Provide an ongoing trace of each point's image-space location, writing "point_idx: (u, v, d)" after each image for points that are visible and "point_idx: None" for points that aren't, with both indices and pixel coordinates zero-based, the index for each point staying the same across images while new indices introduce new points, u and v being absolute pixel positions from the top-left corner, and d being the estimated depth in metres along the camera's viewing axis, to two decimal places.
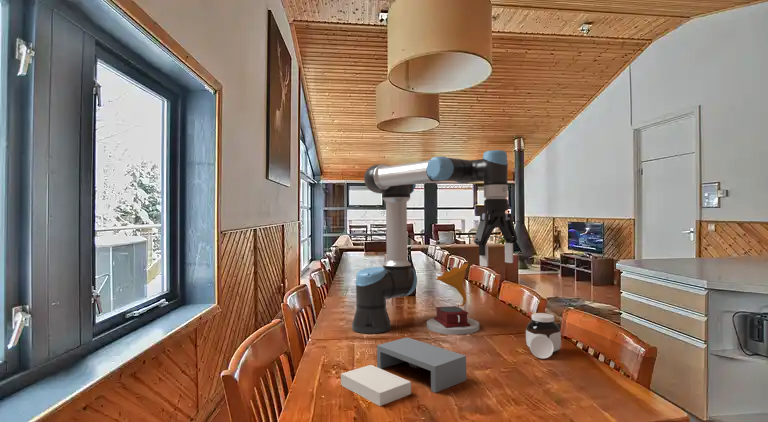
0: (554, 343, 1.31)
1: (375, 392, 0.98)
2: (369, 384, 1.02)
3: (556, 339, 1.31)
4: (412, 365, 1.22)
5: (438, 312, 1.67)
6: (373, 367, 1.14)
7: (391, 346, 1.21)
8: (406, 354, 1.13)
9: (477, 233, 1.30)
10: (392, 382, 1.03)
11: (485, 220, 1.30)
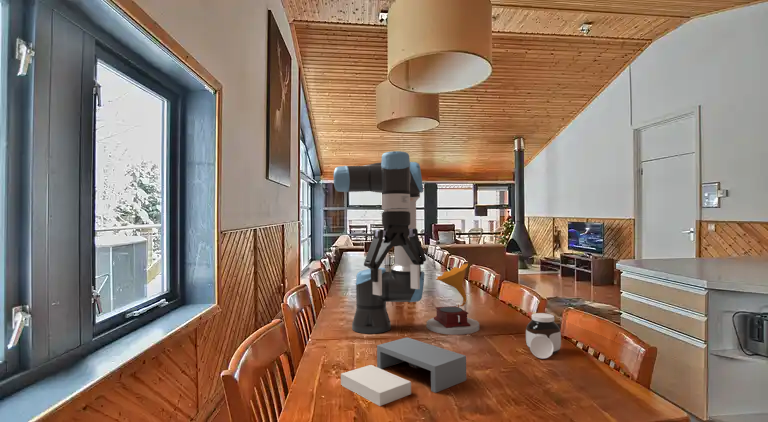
0: (554, 343, 1.31)
1: (375, 392, 0.98)
2: (369, 384, 1.02)
3: (556, 339, 1.31)
4: (412, 365, 1.22)
5: (438, 312, 1.67)
6: (373, 367, 1.14)
7: (391, 346, 1.21)
8: (406, 354, 1.13)
9: (368, 254, 1.05)
10: (392, 382, 1.03)
11: (378, 238, 1.05)
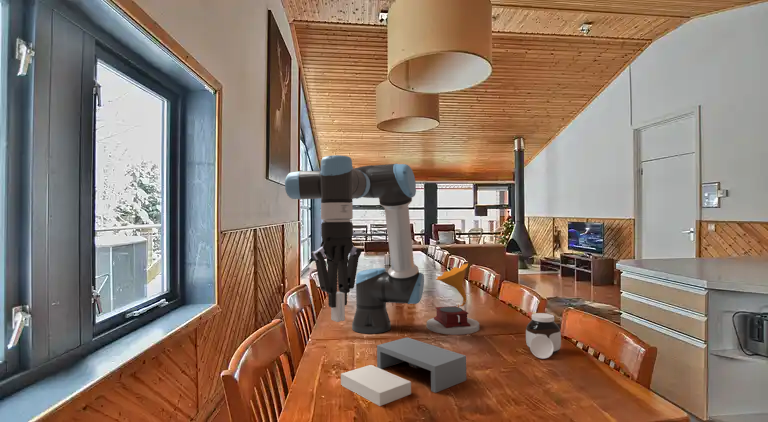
0: (554, 343, 1.31)
1: (375, 392, 0.98)
2: (369, 384, 1.02)
3: (556, 339, 1.31)
4: (412, 365, 1.22)
5: (438, 312, 1.67)
6: (373, 367, 1.14)
7: (391, 346, 1.21)
8: (406, 354, 1.13)
9: (319, 279, 0.97)
10: (392, 382, 1.03)
11: (319, 261, 0.96)
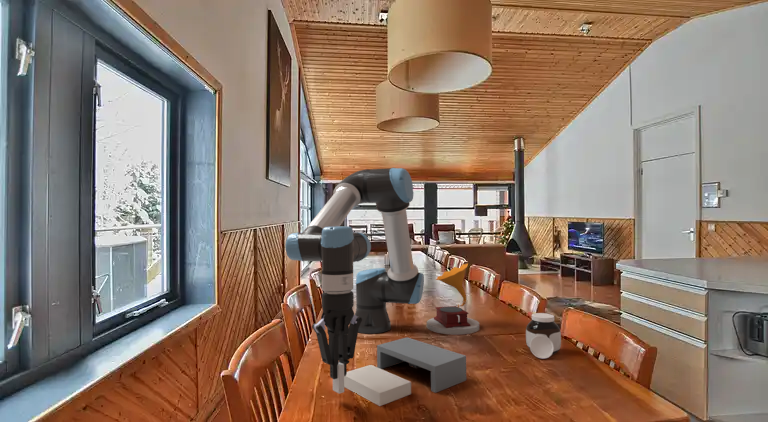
0: (554, 343, 1.31)
1: (375, 392, 0.98)
2: (369, 384, 1.02)
3: (556, 339, 1.31)
4: (412, 365, 1.22)
5: (438, 312, 1.67)
6: (373, 367, 1.14)
7: (391, 346, 1.21)
8: (406, 354, 1.13)
9: (321, 351, 0.97)
10: (392, 382, 1.03)
11: (320, 334, 0.95)
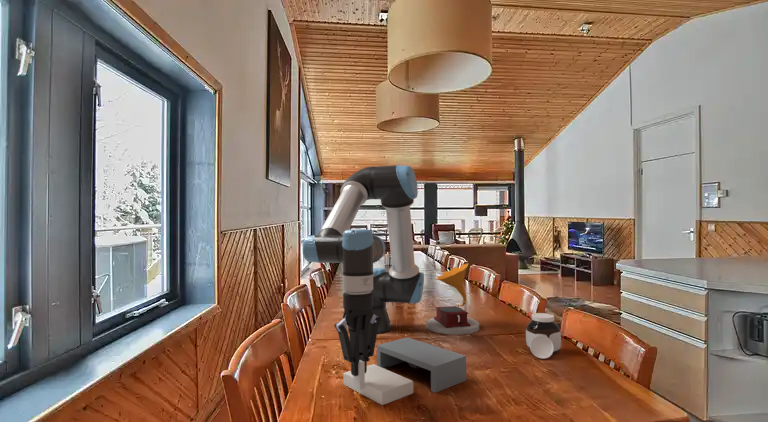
0: (554, 343, 1.31)
1: (377, 391, 0.99)
2: (372, 383, 1.03)
3: (556, 339, 1.31)
4: (412, 365, 1.22)
5: (438, 312, 1.67)
6: (375, 366, 1.14)
7: (391, 346, 1.21)
8: (406, 354, 1.13)
9: (343, 349, 1.01)
10: (394, 381, 1.04)
11: (342, 333, 0.99)
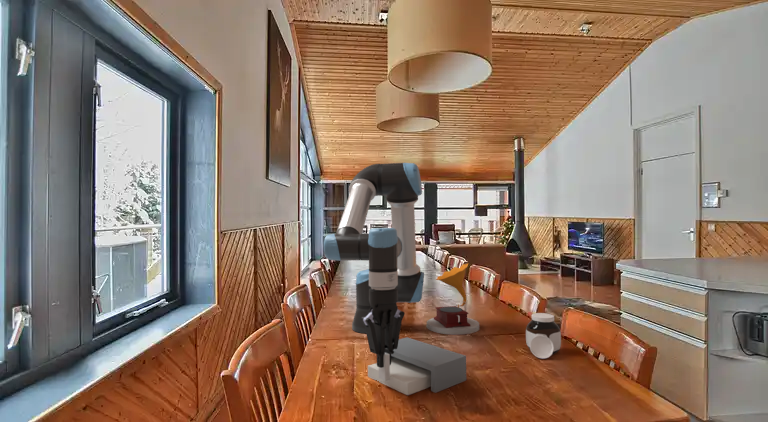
0: (554, 343, 1.31)
1: (403, 382, 1.04)
2: (396, 375, 1.08)
3: (556, 339, 1.31)
4: None
5: (438, 312, 1.67)
6: (397, 360, 1.19)
7: None
8: (406, 354, 1.13)
9: (369, 342, 1.06)
10: (418, 373, 1.09)
11: (369, 327, 1.04)
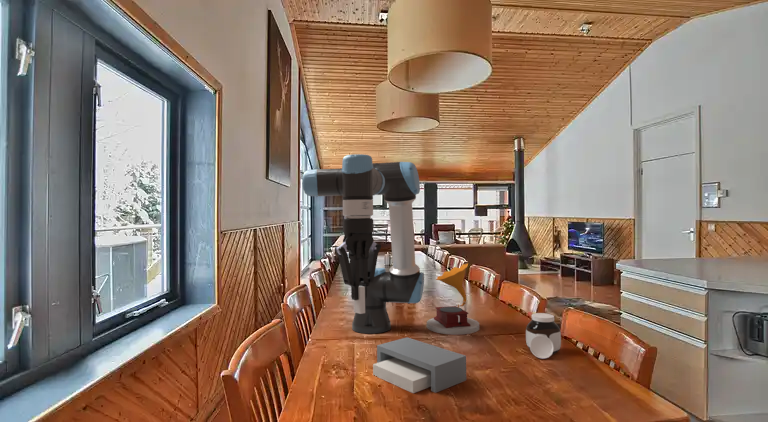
0: (554, 343, 1.31)
1: (408, 380, 1.05)
2: (402, 373, 1.09)
3: (556, 339, 1.31)
4: None
5: (438, 312, 1.67)
6: None
7: (391, 346, 1.21)
8: (406, 354, 1.13)
9: (343, 273, 1.02)
10: (423, 371, 1.10)
11: (343, 256, 1.00)
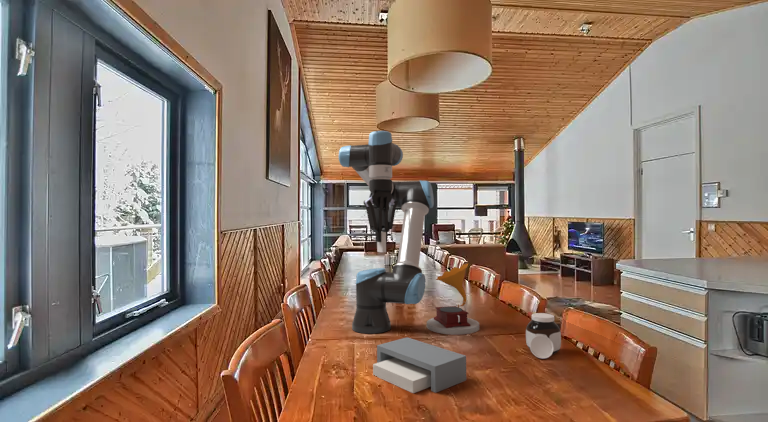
0: (554, 343, 1.31)
1: (408, 380, 1.05)
2: (402, 373, 1.09)
3: (556, 339, 1.31)
4: None
5: (438, 312, 1.67)
6: None
7: (391, 346, 1.21)
8: (406, 354, 1.13)
9: (369, 221, 1.34)
10: (423, 371, 1.10)
11: (370, 207, 1.32)
